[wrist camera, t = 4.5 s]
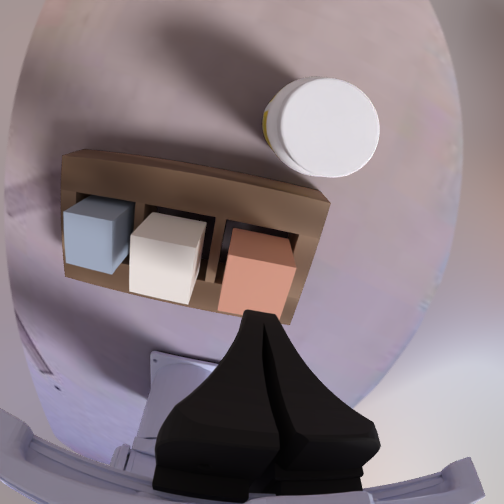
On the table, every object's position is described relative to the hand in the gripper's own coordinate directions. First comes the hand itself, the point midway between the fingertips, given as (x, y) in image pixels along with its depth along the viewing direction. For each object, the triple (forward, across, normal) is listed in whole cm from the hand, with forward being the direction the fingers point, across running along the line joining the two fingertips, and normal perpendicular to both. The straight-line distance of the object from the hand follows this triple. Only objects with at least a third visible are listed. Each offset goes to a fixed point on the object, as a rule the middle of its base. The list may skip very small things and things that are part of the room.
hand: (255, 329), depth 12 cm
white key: (+7, +5, 0) cm, 9 cm away
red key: (+7, 0, 0) cm, 7 cm away
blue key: (+8, +10, 0) cm, 13 cm away
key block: (+10, +5, 0) cm, 11 cm away
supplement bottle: (+10, -1, -8) cm, 13 cm away
